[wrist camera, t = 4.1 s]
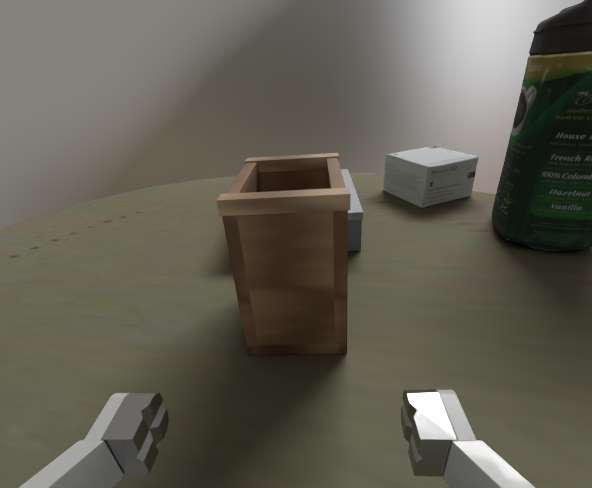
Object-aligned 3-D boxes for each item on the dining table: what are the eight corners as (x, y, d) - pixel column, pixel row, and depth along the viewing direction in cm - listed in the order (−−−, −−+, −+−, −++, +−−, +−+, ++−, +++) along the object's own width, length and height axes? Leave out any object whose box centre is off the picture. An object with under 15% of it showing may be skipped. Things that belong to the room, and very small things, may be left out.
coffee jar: (607, 262, 26) (737, -34, 18) (494, 248, 29) (557, -11, 21) (574, 215, 34) (653, -7, 25) (487, 208, 37) (531, 8, 28)
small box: (422, 209, 38) (427, 166, 36) (381, 191, 45) (384, 153, 42) (472, 197, 41) (480, 155, 38) (427, 181, 47) (432, 144, 45)
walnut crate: (338, 277, 27) (337, 152, 22) (348, 355, 20) (350, 193, 15) (263, 280, 27) (247, 158, 23) (246, 356, 20) (216, 200, 15)
